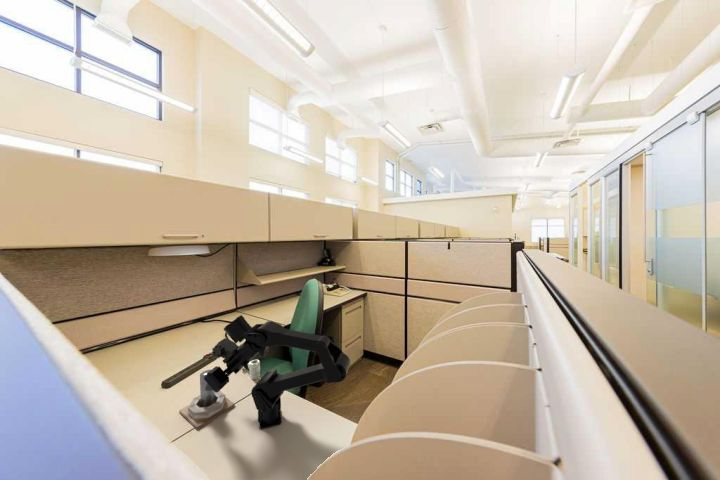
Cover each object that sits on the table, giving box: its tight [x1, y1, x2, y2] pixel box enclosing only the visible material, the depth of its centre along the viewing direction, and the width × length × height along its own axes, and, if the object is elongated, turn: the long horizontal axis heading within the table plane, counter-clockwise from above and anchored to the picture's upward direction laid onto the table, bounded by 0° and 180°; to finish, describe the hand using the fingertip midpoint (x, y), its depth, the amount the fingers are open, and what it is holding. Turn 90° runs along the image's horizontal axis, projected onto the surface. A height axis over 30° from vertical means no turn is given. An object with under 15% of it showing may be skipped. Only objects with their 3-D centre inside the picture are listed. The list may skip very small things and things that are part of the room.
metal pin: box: [199, 369, 214, 408], centre depth 85 cm, size 4×4×12 cm
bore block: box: [178, 390, 236, 430], centre depth 86 cm, size 12×12×3 cm
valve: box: [244, 359, 261, 381], centre depth 107 cm, size 7×7×12 cm
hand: (216, 380), depth 85 cm, fingers open, 9 cm apart
